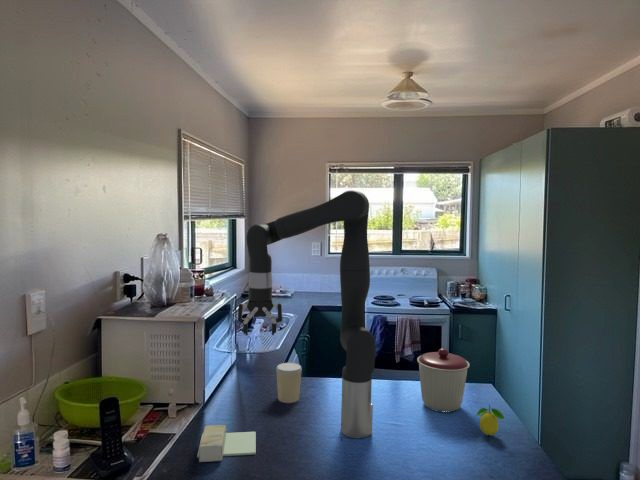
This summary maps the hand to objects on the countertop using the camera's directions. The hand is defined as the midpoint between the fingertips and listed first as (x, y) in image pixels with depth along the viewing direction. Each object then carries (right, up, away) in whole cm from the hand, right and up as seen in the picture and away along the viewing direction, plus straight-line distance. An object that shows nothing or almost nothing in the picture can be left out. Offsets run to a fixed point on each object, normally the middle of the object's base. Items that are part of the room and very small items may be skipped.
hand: (259, 334), depth 144 cm
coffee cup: (+8, -28, +18) cm, 34 cm away
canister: (+63, -29, +14) cm, 71 cm away
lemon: (+72, -30, -7) cm, 79 cm away
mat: (-7, -29, -16) cm, 34 cm away
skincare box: (-11, -26, -14) cm, 31 cm away
